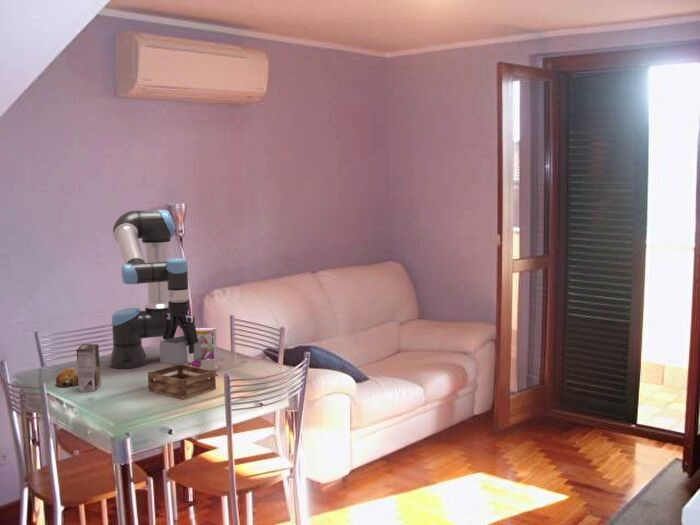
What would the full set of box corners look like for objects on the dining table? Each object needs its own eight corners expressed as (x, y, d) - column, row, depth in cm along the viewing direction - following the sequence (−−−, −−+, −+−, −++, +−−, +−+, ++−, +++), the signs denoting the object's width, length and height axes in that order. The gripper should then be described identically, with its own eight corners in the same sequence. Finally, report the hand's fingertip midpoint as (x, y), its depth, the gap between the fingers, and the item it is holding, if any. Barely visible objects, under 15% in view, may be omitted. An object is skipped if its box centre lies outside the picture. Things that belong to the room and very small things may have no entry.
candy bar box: (187, 369, 321) (186, 330, 319) (191, 366, 326) (189, 327, 324) (214, 369, 320) (213, 330, 318) (217, 366, 325) (216, 327, 323)
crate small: (160, 362, 289) (159, 341, 288) (184, 355, 299) (183, 335, 298) (177, 365, 284) (176, 344, 283) (201, 358, 294) (200, 337, 293)
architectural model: (199, 376, 312) (198, 358, 311) (216, 374, 315) (215, 356, 314) (201, 378, 309) (200, 360, 308) (218, 376, 311) (217, 358, 310)
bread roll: (86, 391, 305) (91, 371, 307) (70, 387, 295) (75, 366, 298) (65, 389, 308) (70, 369, 310) (48, 385, 299) (53, 364, 301)
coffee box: (84, 385, 301) (81, 344, 299) (101, 384, 301) (99, 343, 299) (78, 392, 292) (75, 349, 290) (95, 391, 292) (93, 349, 290)
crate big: (148, 390, 292) (147, 372, 291) (180, 380, 305) (180, 363, 304) (183, 399, 281) (183, 380, 280) (215, 388, 294) (215, 370, 293)
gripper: (150, 299, 292) (153, 358, 295) (191, 304, 279) (194, 366, 282) (166, 296, 298) (168, 354, 301) (206, 301, 285) (209, 361, 288)
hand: (181, 360), depth 291 cm, fingers closed on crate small, 9 cm apart
